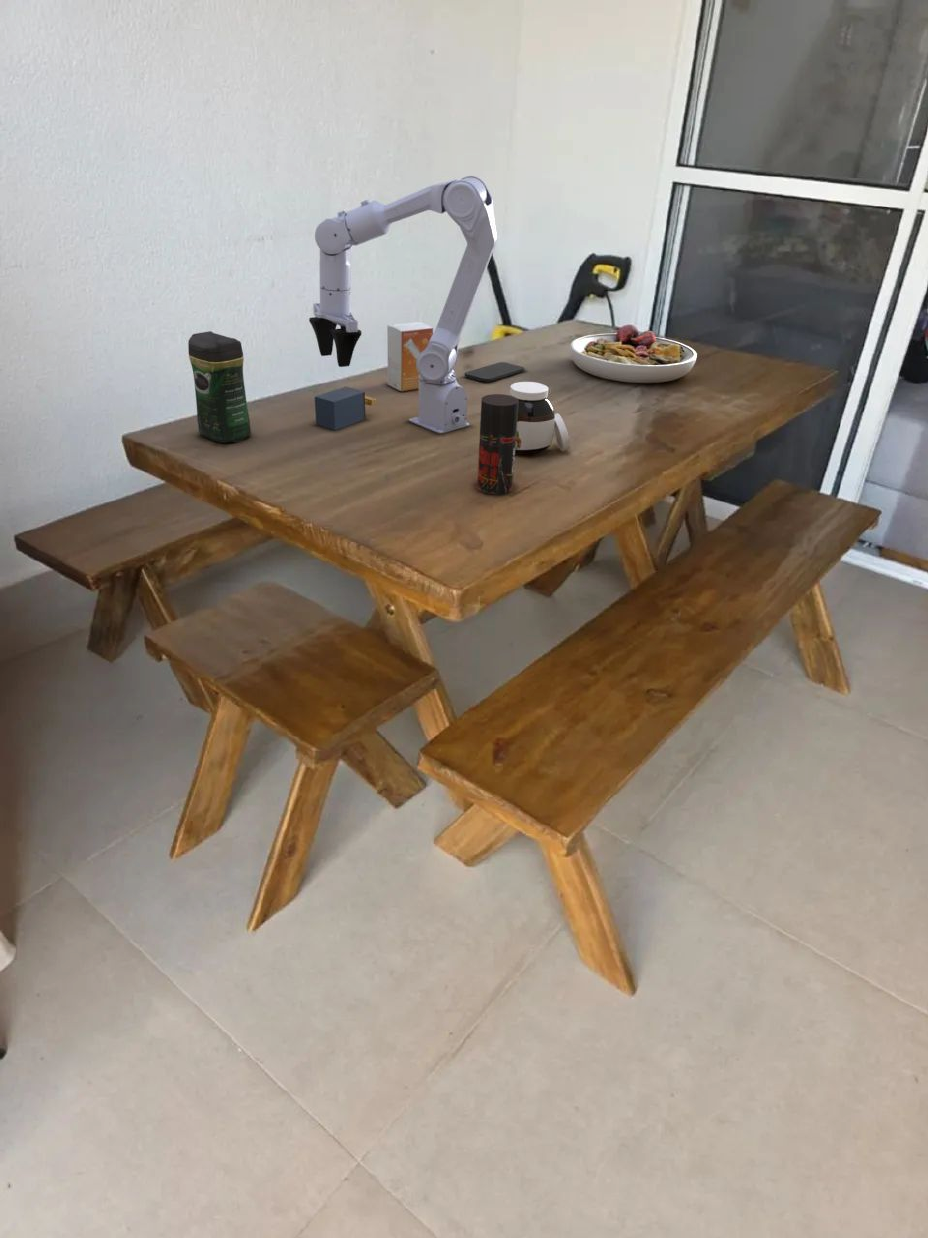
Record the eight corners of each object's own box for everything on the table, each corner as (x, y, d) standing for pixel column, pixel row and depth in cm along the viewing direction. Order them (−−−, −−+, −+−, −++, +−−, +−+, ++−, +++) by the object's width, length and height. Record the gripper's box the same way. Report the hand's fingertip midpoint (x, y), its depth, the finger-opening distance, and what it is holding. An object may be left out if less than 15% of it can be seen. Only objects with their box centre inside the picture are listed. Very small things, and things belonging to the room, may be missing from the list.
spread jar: (491, 444, 160) (495, 383, 154) (536, 433, 166) (541, 374, 160) (533, 465, 152) (539, 400, 146) (579, 452, 158) (586, 390, 152)
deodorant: (475, 480, 145) (479, 393, 138) (510, 480, 146) (516, 394, 138) (479, 494, 140) (483, 405, 133) (514, 494, 141) (521, 405, 133)
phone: (526, 367, 203) (487, 379, 193) (526, 371, 203) (487, 383, 193) (501, 361, 207) (462, 372, 197) (501, 364, 207) (462, 376, 197)
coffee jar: (258, 437, 159) (249, 335, 149) (223, 447, 154) (211, 343, 144) (227, 424, 165) (216, 325, 155) (192, 434, 159) (178, 332, 150)
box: (355, 410, 174) (354, 382, 171) (375, 416, 171) (375, 388, 168) (315, 424, 166) (313, 395, 163) (335, 430, 163) (334, 402, 160)
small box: (401, 392, 186) (401, 330, 179) (387, 384, 190) (386, 324, 183) (432, 387, 190) (433, 327, 183) (418, 379, 194) (418, 320, 187)
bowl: (705, 390, 195) (712, 355, 191) (575, 384, 195) (578, 349, 191) (679, 355, 221) (684, 324, 217) (563, 350, 221) (566, 319, 217)
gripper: (298, 280, 163) (300, 351, 170) (333, 297, 153) (333, 373, 160) (331, 278, 166) (331, 349, 173) (368, 295, 156) (366, 369, 164)
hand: (334, 360), depth 167 cm, fingers open, 7 cm apart
